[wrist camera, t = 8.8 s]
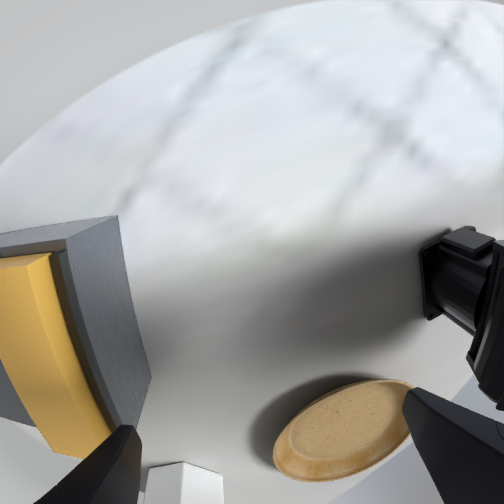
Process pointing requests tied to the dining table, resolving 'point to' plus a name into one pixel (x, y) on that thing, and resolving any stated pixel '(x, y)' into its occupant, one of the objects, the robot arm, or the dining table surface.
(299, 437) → the plant saucer
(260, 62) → the dining table surface
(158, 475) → the jar
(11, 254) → the box
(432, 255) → the robot arm
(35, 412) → the key
